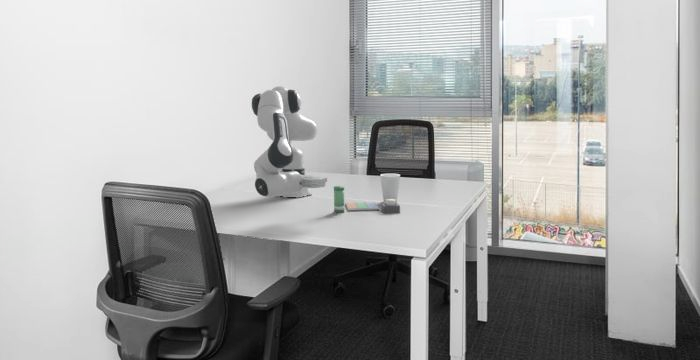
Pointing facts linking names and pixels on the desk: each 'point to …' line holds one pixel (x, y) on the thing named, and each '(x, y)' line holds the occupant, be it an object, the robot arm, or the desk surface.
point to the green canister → (339, 199)
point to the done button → (390, 202)
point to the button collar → (390, 208)
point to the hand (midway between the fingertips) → (318, 178)
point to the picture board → (361, 206)
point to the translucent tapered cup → (390, 186)
